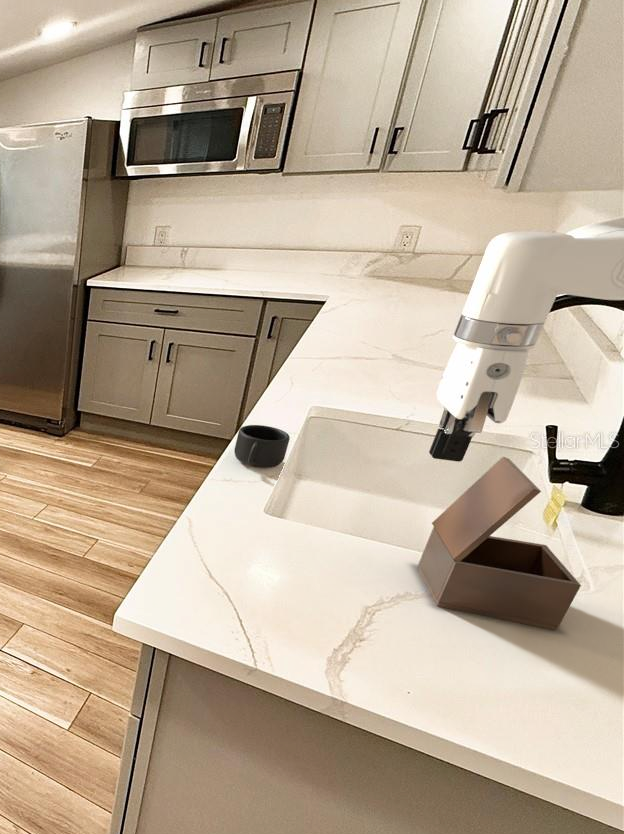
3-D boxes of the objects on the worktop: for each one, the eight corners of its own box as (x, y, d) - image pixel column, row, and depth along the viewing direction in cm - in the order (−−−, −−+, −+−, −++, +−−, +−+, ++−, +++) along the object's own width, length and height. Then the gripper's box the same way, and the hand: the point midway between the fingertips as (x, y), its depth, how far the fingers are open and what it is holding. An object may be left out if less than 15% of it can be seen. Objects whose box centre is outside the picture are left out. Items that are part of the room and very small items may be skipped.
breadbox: (524, 587, 93) (546, 544, 89) (556, 630, 84) (581, 585, 81) (416, 567, 98) (433, 526, 95) (436, 606, 90) (455, 562, 87)
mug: (239, 450, 139) (246, 421, 136) (286, 461, 133) (294, 431, 130) (222, 468, 132) (229, 438, 129) (272, 481, 126) (280, 450, 123)
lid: (509, 458, 88) (502, 456, 88) (541, 491, 80) (534, 488, 80) (437, 525, 95) (431, 523, 95) (460, 561, 87) (453, 558, 87)
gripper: (564, 349, 72) (501, 486, 79) (512, 320, 84) (462, 441, 91) (477, 344, 75) (425, 475, 83) (439, 317, 87) (396, 434, 95)
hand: (444, 457), depth 87 cm, fingers closed
